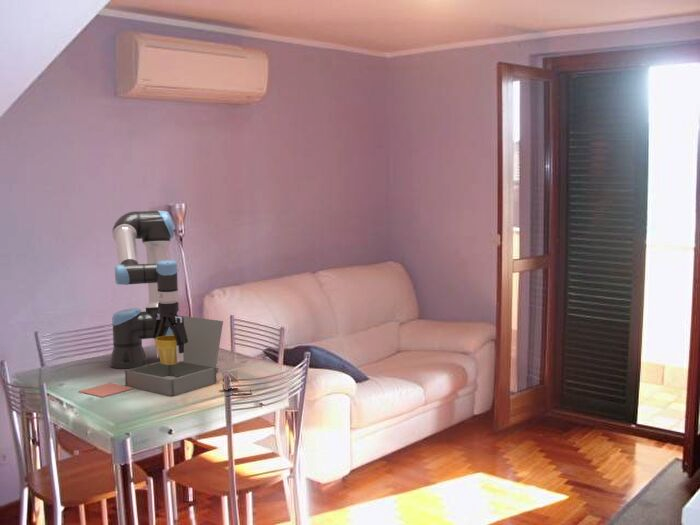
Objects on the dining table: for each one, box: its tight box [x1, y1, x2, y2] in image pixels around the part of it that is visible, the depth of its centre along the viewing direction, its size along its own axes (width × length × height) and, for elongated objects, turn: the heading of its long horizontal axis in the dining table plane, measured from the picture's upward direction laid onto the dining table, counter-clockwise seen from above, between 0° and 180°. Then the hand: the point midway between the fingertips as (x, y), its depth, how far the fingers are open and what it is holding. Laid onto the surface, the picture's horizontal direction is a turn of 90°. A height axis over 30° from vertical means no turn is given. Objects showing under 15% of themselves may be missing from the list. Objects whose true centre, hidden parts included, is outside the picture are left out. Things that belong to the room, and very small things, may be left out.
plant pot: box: [154, 335, 179, 365], centre depth 297 cm, size 10×10×10 cm
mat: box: [78, 382, 135, 399], centre depth 291 cm, size 14×14×1 cm
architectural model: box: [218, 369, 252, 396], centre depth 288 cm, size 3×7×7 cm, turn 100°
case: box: [124, 314, 224, 397], centre depth 298 cm, size 26×27×24 cm
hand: (170, 359), depth 297 cm, fingers closed on plant pot, 10 cm apart
